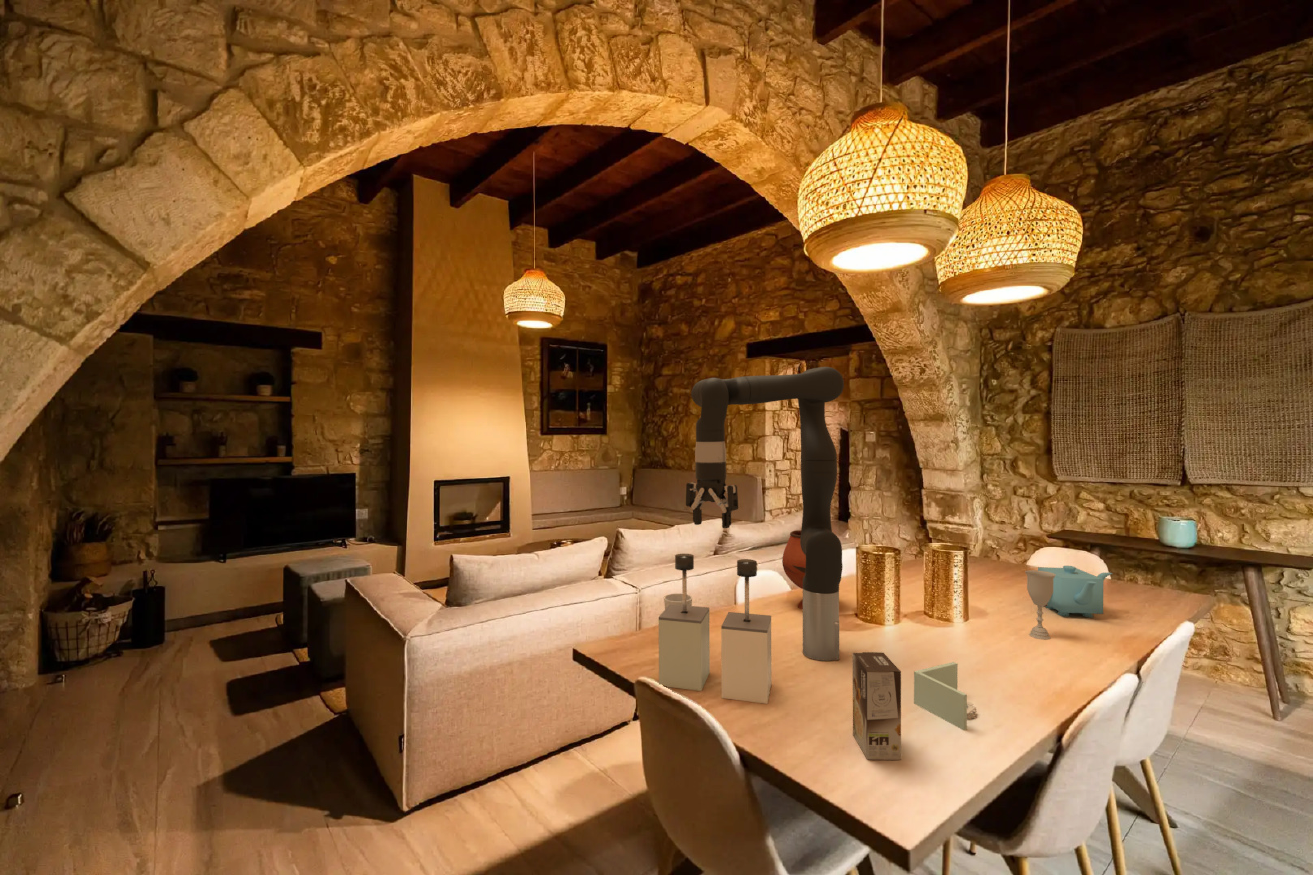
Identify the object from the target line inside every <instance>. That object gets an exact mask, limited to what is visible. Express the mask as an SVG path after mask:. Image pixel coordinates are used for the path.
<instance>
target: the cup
mask: <svg viewBox="0 0 1313 875" xmlns="http://www.w3.org/2000/svg"><path fill="white" fill-rule="evenodd" d="M663 603H664V610H665V609H666V608H667V607H668V606H669V604H673V605H682V593H676V592H675V593H669V594H666V595H665V596H664V597H663ZM687 606H693V597H692V596H691V594H690V595H689V594H687Z"/></svg>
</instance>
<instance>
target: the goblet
mask: <svg viewBox="0 0 1313 875" xmlns="http://www.w3.org/2000/svg"><path fill="white" fill-rule="evenodd" d="M800 537H801V529H800V530H799V529H798V530H793V531H791V532H790V533H789V538H788V541H787V543H786V546H785V548H784V551H783V554H782V559H781V560H782V562H781V564H782V567H783V570H784V573H785V574H786V576H787V578H788V579H789V580H790V581H791V582H792V583H793V584H794V585H795V586H797V587H798V588H800V589H802V590H803V577H804V576H805V571H806V555H805V554H804V553H803V551H802V549H801V545H800ZM797 607H798V608H799V609H800V610H802V611H803V598H802V599H801V600H800V601H799V602H798V605H797Z"/></svg>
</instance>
